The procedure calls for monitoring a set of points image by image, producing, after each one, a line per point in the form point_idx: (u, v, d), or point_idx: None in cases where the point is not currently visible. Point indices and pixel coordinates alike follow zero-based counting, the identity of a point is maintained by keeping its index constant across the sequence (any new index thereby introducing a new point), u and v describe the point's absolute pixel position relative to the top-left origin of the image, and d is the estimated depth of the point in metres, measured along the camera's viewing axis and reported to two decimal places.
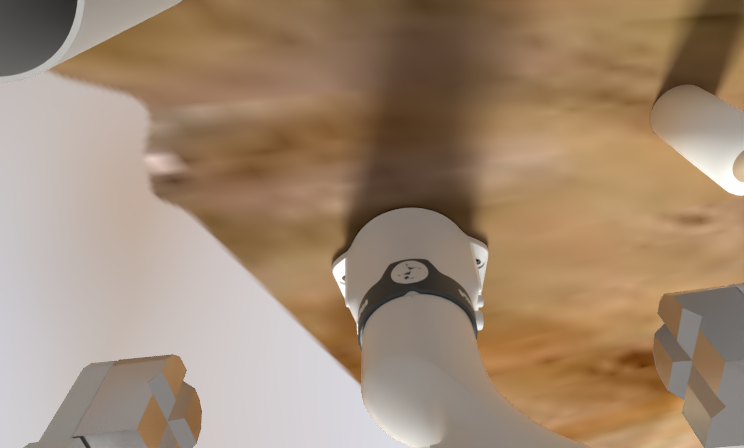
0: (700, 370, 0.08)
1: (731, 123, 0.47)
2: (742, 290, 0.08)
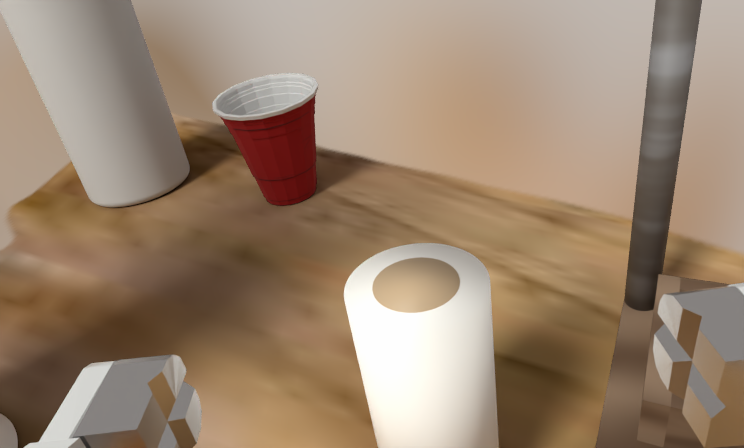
0: (700, 370, 0.08)
1: None
2: (742, 290, 0.08)
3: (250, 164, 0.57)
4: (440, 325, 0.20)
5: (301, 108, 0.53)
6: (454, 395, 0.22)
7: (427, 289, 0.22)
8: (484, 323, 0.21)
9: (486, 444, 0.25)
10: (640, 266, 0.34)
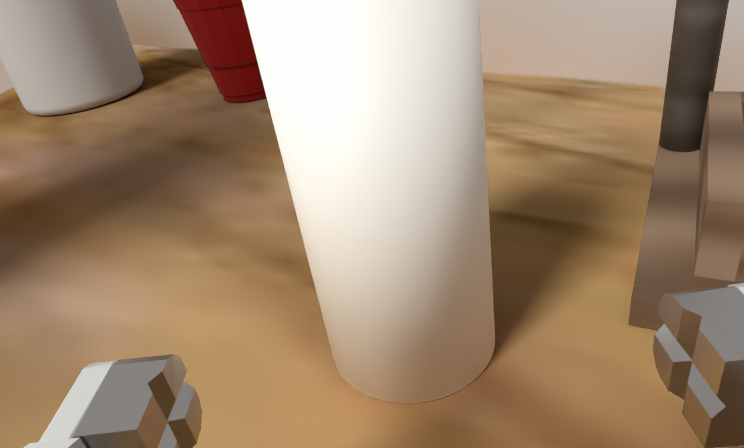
0: (700, 370, 0.08)
1: None
2: (742, 290, 0.08)
3: (201, 48, 0.48)
4: None
5: None
6: (415, 121, 0.13)
7: None
8: None
9: (472, 247, 0.16)
10: (684, 82, 0.25)
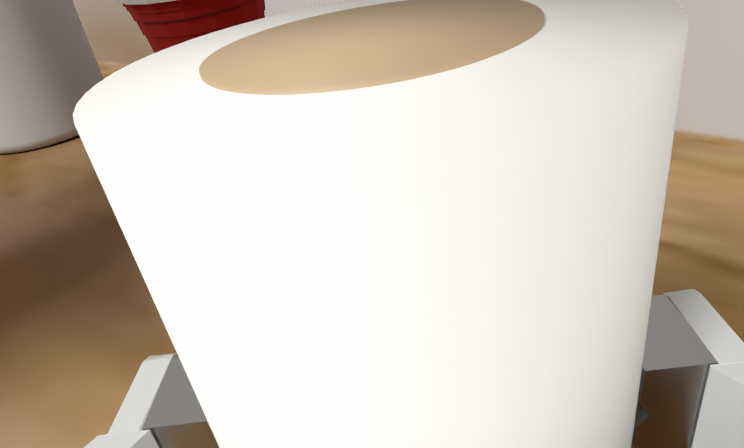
0: None
1: None
2: (671, 299, 0.08)
3: None
4: (479, 110, 0.04)
5: None
6: None
7: (412, 37, 0.05)
8: (667, 160, 0.05)
9: None
10: None
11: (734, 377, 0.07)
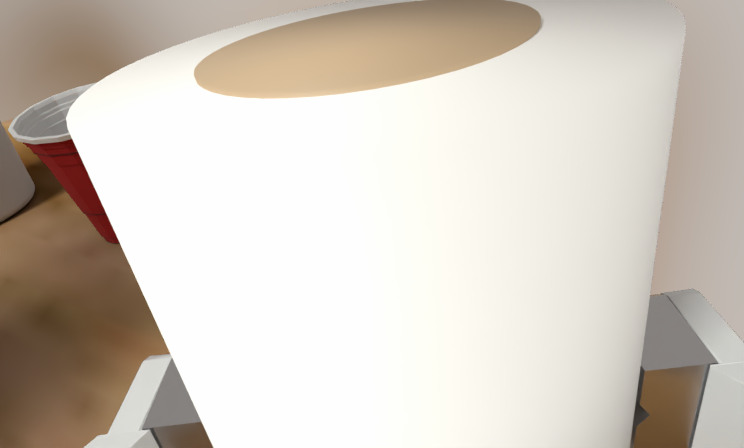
0: None
1: None
2: (671, 299, 0.08)
3: None
4: (474, 115, 0.03)
5: None
6: None
7: (408, 40, 0.05)
8: (664, 163, 0.05)
9: None
10: None
11: (734, 377, 0.07)
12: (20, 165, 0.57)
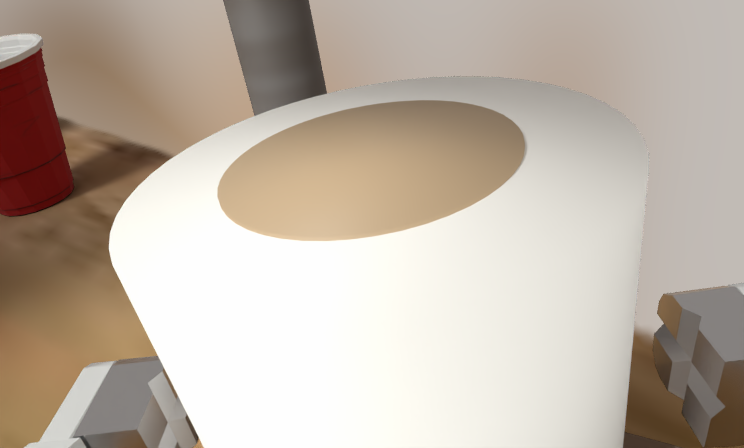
0: (699, 370, 0.08)
1: None
2: (741, 290, 0.08)
3: None
4: (461, 284, 0.04)
5: None
6: None
7: (407, 166, 0.06)
8: (632, 285, 0.05)
9: None
10: None
11: None
12: None
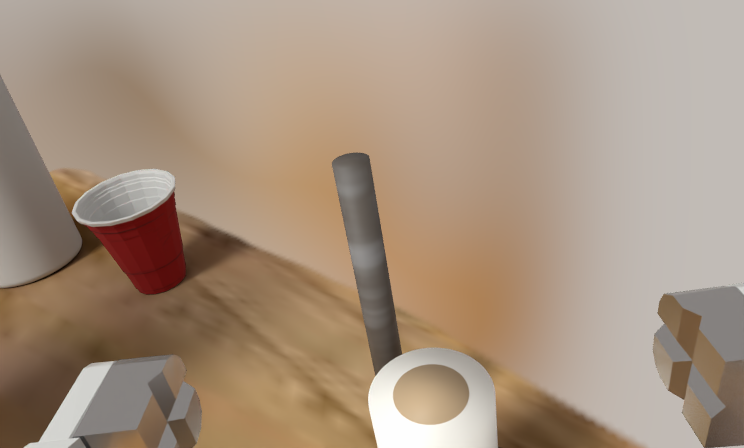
0: (700, 370, 0.08)
1: None
2: (742, 290, 0.08)
3: (114, 258, 0.60)
4: (453, 439, 0.24)
5: (152, 213, 0.56)
6: None
7: (441, 400, 0.25)
8: (490, 432, 0.25)
9: None
10: None
11: None
12: (72, 224, 0.72)
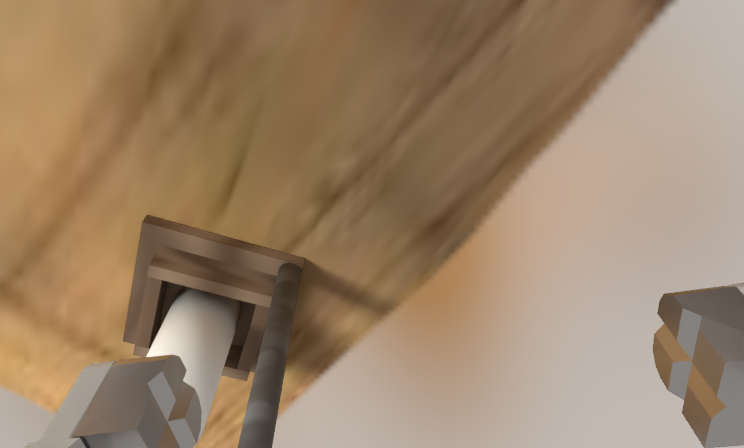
0: (700, 370, 0.08)
1: (211, 395, 0.41)
2: (742, 290, 0.08)
3: None
4: None
5: None
6: None
7: None
8: None
9: None
10: (274, 291, 0.45)
11: None
12: None
